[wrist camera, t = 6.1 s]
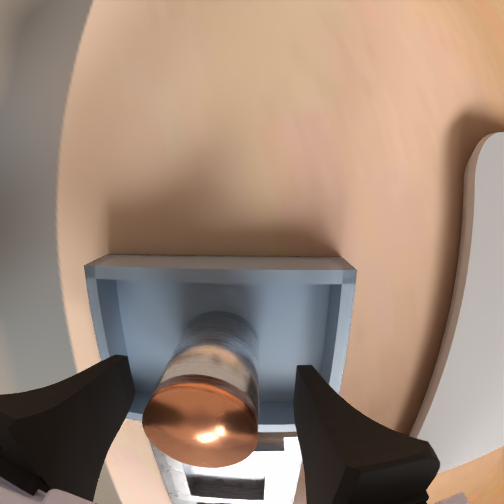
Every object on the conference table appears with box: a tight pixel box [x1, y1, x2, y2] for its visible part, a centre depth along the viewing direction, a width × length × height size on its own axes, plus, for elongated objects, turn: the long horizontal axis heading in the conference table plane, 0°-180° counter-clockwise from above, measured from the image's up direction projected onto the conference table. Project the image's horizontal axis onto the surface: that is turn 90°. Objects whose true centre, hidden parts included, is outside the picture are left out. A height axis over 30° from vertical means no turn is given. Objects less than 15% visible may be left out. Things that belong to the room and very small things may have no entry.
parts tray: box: [84, 254, 357, 432], centre depth 14 cm, size 12×9×2 cm
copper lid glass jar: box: [142, 311, 260, 468], centre depth 12 cm, size 4×4×6 cm
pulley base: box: [150, 431, 302, 504], centre depth 16 cm, size 10×13×3 cm
